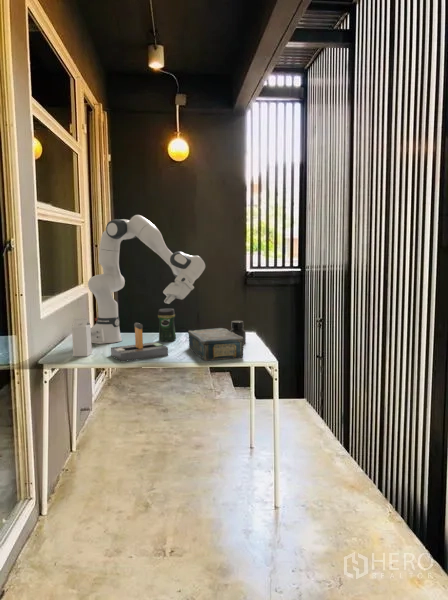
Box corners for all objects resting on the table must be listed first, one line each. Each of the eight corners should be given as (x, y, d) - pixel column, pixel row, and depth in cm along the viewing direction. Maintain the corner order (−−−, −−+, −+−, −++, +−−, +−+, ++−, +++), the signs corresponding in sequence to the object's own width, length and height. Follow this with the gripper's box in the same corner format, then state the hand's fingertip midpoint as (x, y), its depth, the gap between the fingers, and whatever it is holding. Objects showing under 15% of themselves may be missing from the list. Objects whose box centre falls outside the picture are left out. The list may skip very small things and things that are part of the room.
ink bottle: (248, 341, 268) (247, 320, 266) (244, 344, 259) (244, 323, 258) (231, 340, 270) (231, 320, 269) (227, 344, 262) (226, 322, 260)
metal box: (203, 362, 223) (202, 341, 222) (187, 348, 254) (186, 329, 253) (245, 358, 229) (245, 338, 228) (225, 345, 260) (224, 327, 259)
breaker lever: (138, 348, 234) (137, 324, 233) (134, 346, 239) (133, 322, 237) (143, 348, 235) (142, 323, 234) (139, 346, 240) (138, 322, 239)
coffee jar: (177, 339, 278) (176, 307, 276) (173, 341, 270) (173, 309, 268) (161, 338, 279) (160, 307, 277) (157, 341, 271) (156, 309, 269)
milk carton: (78, 353, 244) (76, 316, 242) (91, 353, 244) (90, 316, 242) (73, 356, 237) (71, 319, 235) (87, 356, 237) (85, 318, 235)
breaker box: (121, 361, 225) (121, 352, 224) (111, 355, 238) (110, 346, 238) (168, 355, 237) (167, 346, 236) (155, 349, 250) (155, 341, 250)
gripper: (170, 277, 254) (154, 297, 250) (187, 279, 236) (170, 300, 232) (178, 285, 257) (162, 304, 253) (195, 288, 239) (178, 308, 235)
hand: (166, 302), depth 242 cm, fingers closed
